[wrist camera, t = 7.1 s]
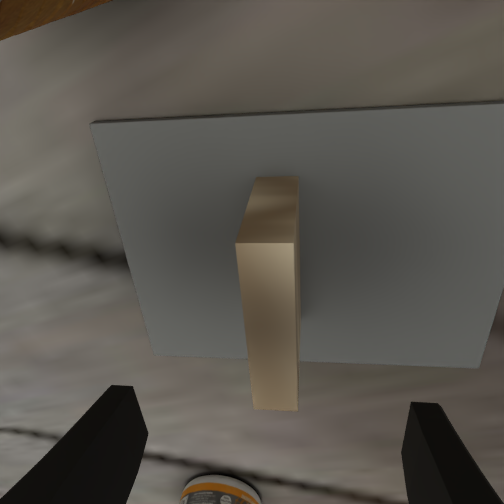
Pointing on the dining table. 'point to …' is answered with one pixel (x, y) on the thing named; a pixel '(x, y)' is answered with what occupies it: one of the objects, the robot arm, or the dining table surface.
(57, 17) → the disposable coffee cup
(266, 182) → the wooden block
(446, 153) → the mat
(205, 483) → the pill bottle
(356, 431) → the dining table surface
